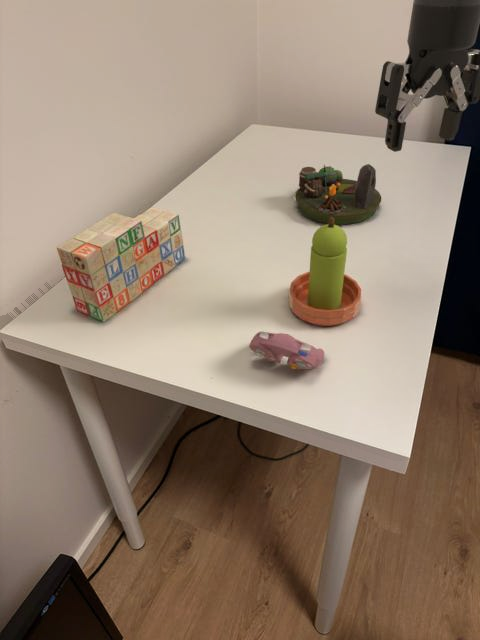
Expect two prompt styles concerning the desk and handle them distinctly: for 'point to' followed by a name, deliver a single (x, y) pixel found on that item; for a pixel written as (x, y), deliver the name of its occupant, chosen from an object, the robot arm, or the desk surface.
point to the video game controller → (286, 350)
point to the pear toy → (327, 267)
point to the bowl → (320, 316)
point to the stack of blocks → (120, 259)
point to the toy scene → (337, 195)
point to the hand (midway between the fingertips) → (420, 144)
